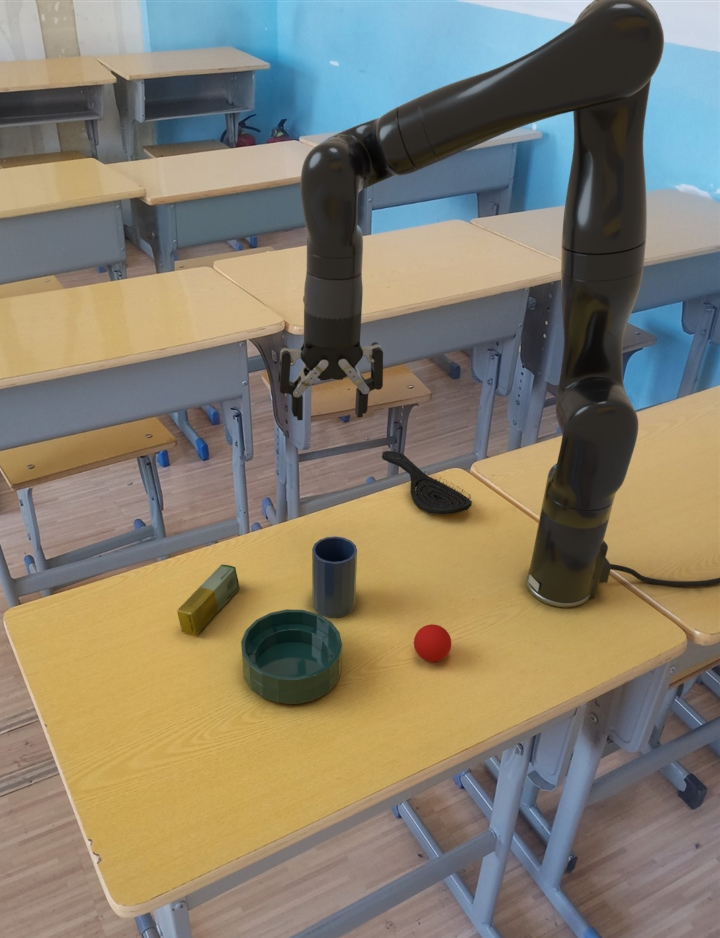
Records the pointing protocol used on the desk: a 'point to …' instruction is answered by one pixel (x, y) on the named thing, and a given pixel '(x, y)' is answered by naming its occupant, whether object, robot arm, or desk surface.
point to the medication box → (208, 599)
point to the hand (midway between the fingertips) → (329, 416)
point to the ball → (432, 643)
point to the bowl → (291, 656)
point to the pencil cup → (334, 576)
